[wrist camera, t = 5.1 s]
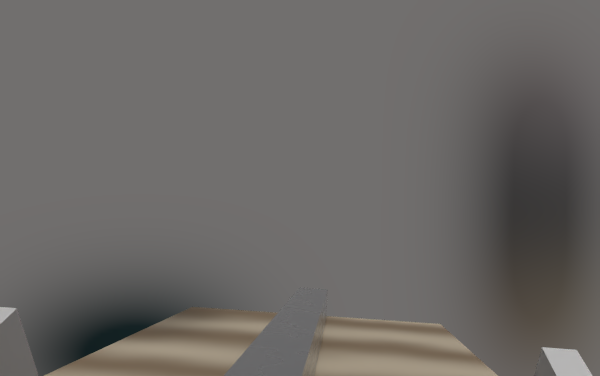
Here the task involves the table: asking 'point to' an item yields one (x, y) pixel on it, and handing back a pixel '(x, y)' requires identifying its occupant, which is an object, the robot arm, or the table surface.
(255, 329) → the shelf stand
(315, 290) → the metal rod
